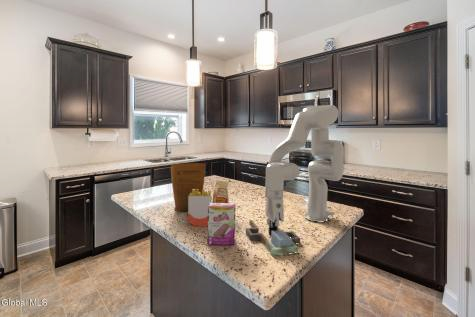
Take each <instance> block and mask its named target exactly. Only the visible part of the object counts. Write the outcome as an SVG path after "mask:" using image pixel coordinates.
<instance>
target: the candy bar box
mask: <svg viewBox="0 0 475 317" xmlns="http://www.w3.org/2000/svg"><path fill="white" fill-rule="evenodd" d="M236 206H237V205H236V203H234V202H229V203H209V205H208V224H207V238H206V239H207V246H235V240H236V239H235V238H236V234H235V232H236V208H237V207H236Z"/></svg>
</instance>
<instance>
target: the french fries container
mask: <svg viewBox="0 0 475 317" xmlns="http://www.w3.org/2000/svg"><path fill="white" fill-rule="evenodd" d="M198 190H199V189H197V191H196V189H192V193H190V194H189V196H188V212H187V213H188V215H187V216H188V222H189V223H190V224H191V225H193V226H194V227H206V226H208V205H209V203H212V200H213V197H212V194H211V192H212V190H210V189H209V190H206V191H205V188H203V190H202V195H201V192H198ZM195 191H196V194H195ZM207 191H208V192H207Z"/></svg>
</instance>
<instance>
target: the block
mask: <svg viewBox="0 0 475 317" xmlns="http://www.w3.org/2000/svg"><path fill="white" fill-rule="evenodd" d="M285 232H286V231H284V229H280V230H278V231H271V236H270V243H271V245H272V246H273V247H274V248H279V247H290V246H292V239H291V238H290V237H289V236H288V235H287V234H286V233H285Z"/></svg>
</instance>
